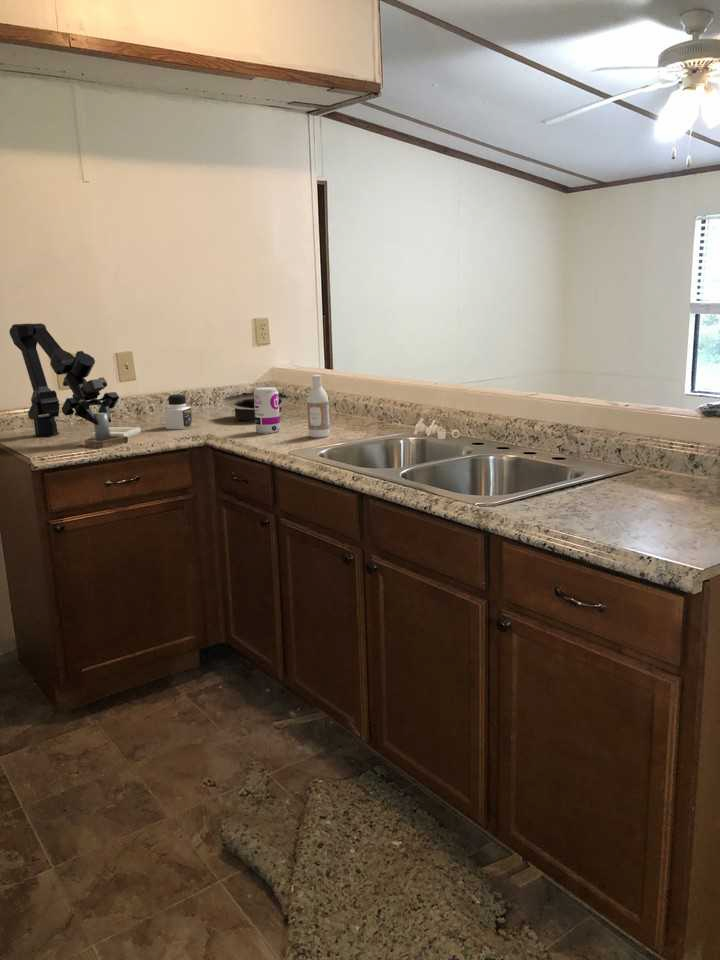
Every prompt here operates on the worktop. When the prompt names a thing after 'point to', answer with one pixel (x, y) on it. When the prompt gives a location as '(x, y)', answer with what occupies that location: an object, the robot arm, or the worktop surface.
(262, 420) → the supplement can
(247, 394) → the stone bowl
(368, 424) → the worktop surface
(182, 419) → the medicine bottle
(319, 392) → the bath foam
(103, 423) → the grey rounded upright piece
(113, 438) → the socket
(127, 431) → the dish
